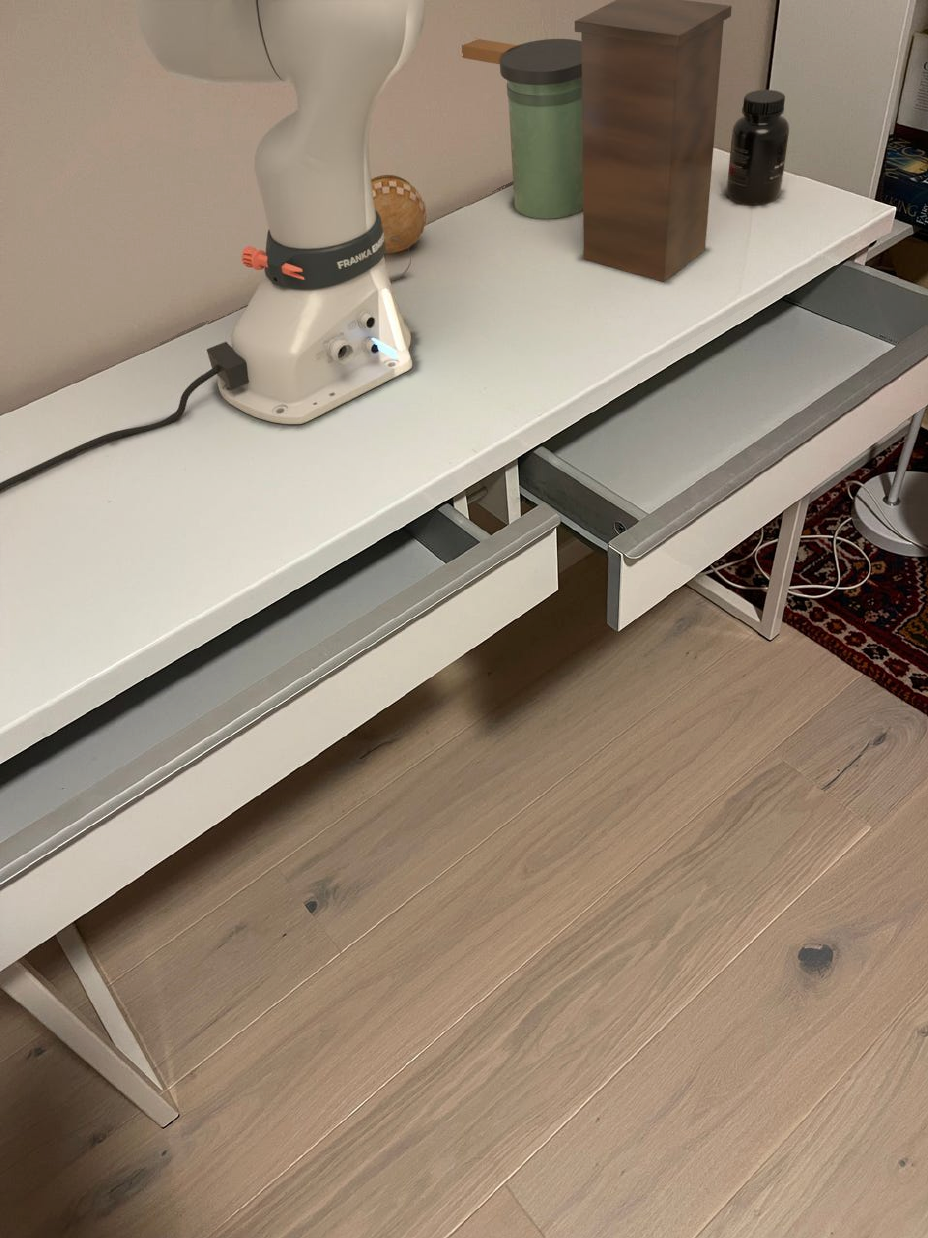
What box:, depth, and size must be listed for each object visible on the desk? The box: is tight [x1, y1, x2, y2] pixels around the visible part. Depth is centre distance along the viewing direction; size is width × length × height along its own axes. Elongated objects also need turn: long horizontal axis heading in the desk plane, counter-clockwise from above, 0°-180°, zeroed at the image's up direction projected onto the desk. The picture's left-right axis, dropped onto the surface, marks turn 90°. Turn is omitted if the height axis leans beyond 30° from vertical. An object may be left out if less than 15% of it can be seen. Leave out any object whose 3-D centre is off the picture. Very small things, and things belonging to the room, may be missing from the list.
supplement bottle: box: [726, 89, 790, 206], centre depth 125 cm, size 7×7×12 cm
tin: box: [506, 77, 583, 220], centre depth 127 cm, size 10×10×16 cm
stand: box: [574, 0, 733, 283], centre depth 112 cm, size 10×12×26 cm
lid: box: [462, 38, 582, 85], centre depth 123 cm, size 12×21×2 cm, turn 50°
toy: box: [371, 174, 427, 282], centre depth 123 cm, size 9×9×15 cm
